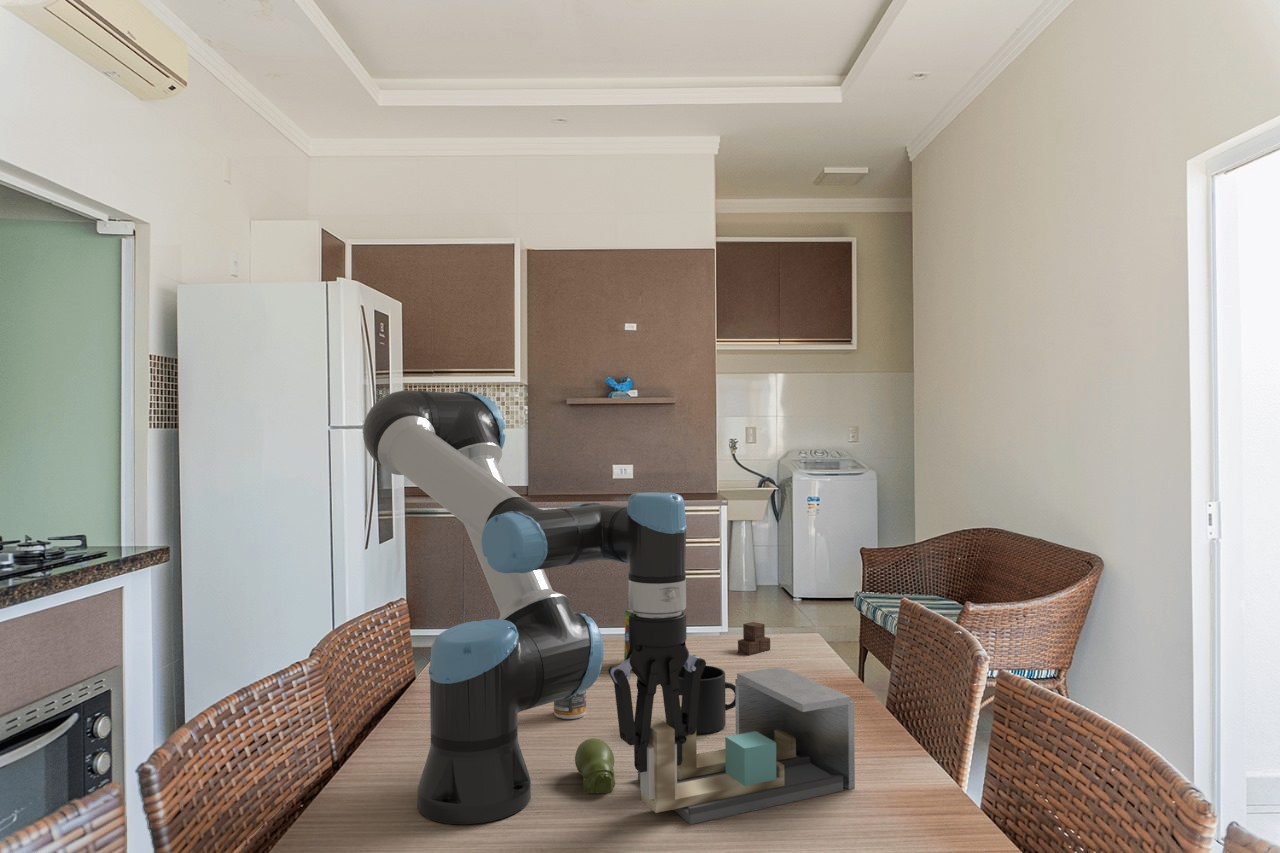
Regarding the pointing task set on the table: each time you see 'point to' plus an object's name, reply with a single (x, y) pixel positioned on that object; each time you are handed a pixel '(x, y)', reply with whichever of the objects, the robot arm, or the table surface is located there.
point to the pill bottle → (571, 706)
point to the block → (750, 758)
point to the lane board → (766, 792)
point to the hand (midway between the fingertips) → (658, 792)
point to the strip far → (723, 755)
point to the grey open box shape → (799, 717)
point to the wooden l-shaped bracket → (695, 789)
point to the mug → (711, 699)
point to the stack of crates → (753, 639)
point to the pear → (595, 766)
